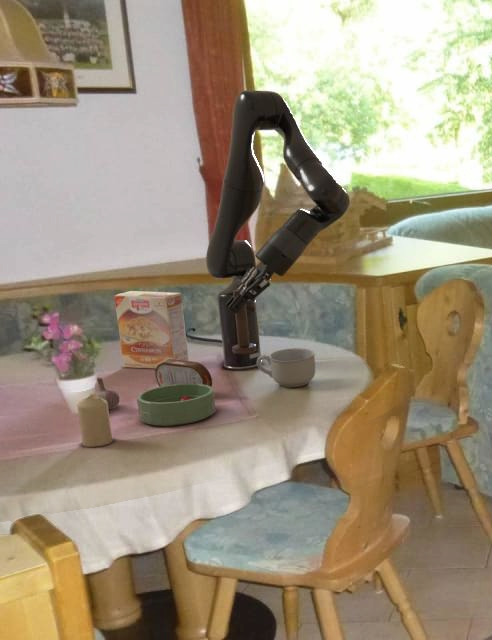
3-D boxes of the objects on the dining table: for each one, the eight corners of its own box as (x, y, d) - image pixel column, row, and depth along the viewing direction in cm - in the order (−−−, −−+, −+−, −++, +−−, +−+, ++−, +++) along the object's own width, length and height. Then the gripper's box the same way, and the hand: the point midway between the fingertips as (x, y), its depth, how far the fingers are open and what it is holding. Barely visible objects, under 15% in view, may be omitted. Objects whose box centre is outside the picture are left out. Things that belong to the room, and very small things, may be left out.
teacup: (324, 379, 259) (321, 348, 257) (306, 391, 249) (303, 359, 247) (271, 377, 260) (268, 347, 258) (251, 389, 250) (248, 357, 248)
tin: (214, 396, 244) (211, 362, 242) (205, 399, 242) (201, 365, 239) (165, 390, 249) (160, 356, 247) (155, 393, 246) (150, 360, 244)
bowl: (129, 416, 229) (126, 393, 228) (198, 402, 240) (195, 379, 238) (156, 432, 218) (153, 407, 217) (227, 416, 229) (225, 392, 228)
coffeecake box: (122, 367, 270) (112, 295, 265) (139, 360, 276) (130, 290, 271) (174, 370, 267) (165, 297, 262) (190, 363, 274) (181, 291, 269)
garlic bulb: (104, 416, 229) (100, 382, 227) (78, 413, 231) (73, 379, 229) (129, 406, 236) (125, 373, 234) (103, 404, 238) (98, 371, 236)
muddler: (229, 351, 231) (222, 290, 227) (250, 347, 234) (244, 287, 231) (239, 354, 228) (232, 293, 224) (260, 351, 231) (254, 290, 227)
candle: (89, 438, 214) (83, 393, 212) (116, 438, 215) (110, 392, 212) (78, 447, 209) (71, 401, 206) (106, 446, 209) (99, 400, 207)
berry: (178, 408, 233) (176, 397, 232) (190, 406, 235) (189, 394, 234) (183, 411, 231) (181, 399, 230) (195, 408, 233) (194, 397, 232)
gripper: (261, 236, 234) (210, 293, 231) (276, 243, 223) (222, 304, 220) (287, 257, 238) (237, 314, 235) (302, 265, 227) (250, 325, 224)
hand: (230, 309), depth 227 cm, fingers closed on muddler, 2 cm apart
